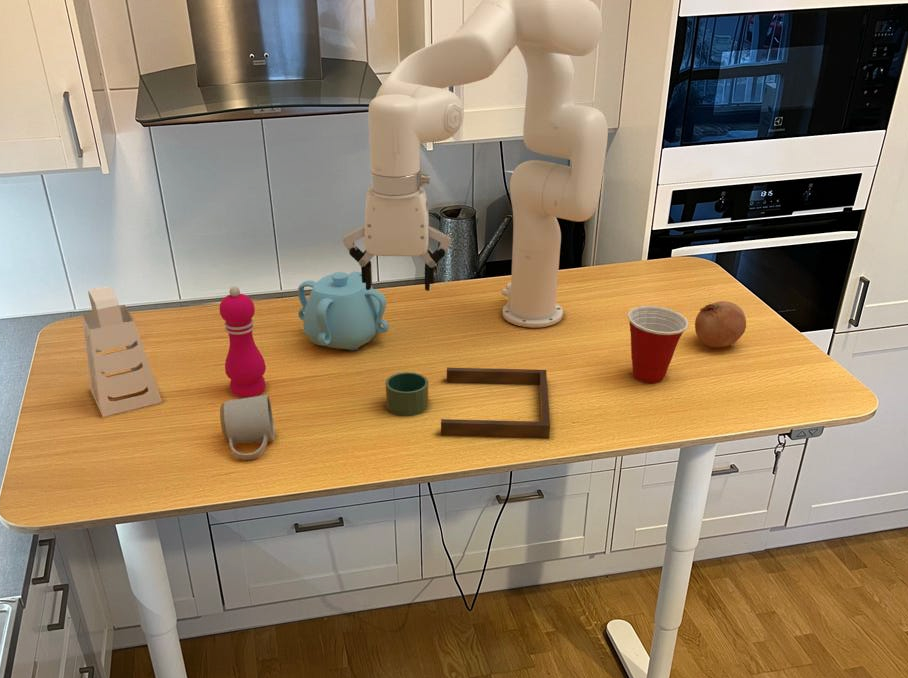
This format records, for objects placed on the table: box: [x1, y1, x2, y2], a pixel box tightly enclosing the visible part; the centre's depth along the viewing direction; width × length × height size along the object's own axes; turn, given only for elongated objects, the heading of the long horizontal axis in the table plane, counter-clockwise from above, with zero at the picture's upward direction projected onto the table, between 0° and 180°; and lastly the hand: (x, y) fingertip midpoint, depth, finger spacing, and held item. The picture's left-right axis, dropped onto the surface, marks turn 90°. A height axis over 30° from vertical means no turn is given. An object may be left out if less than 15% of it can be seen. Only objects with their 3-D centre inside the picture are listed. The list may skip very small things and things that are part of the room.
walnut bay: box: [440, 367, 551, 439], centre depth 163 cm, size 18×19×2 cm
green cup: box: [384, 371, 430, 417], centre depth 163 cm, size 7×7×5 cm
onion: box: [694, 301, 747, 349], centre depth 180 cm, size 10×9×10 cm
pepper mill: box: [219, 286, 267, 398], centre depth 164 cm, size 7×7×20 cm
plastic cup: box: [627, 305, 689, 384], centre depth 168 cm, size 11×11×12 cm
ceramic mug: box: [219, 394, 275, 461], centre depth 152 cm, size 11×8×8 cm
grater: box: [81, 285, 163, 418], centre depth 162 cm, size 10×10×20 cm
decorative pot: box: [297, 271, 390, 351], centre depth 182 cm, size 16×16×14 cm
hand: (398, 287), depth 152 cm, fingers open, 9 cm apart
